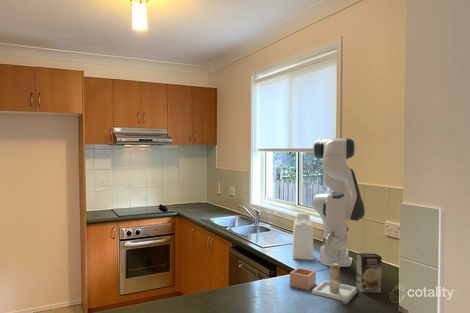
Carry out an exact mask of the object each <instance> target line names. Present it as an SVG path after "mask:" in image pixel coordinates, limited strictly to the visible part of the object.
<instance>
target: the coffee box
mask: <svg viewBox="0 0 470 313" xmlns="http://www.w3.org/2000/svg"><path fill="white" fill-rule="evenodd" d="M356 256H357V257H356V276H355V277H356V281H355V282H356V283H355V287H357V291H359V292H360V293H381V291H382V290H381V288H382V286H381V285H382V261H383V260H382V256H381V255H379V254H377V253H371V252H370V253H365V252H363V253H362V252H357V253H356Z"/></svg>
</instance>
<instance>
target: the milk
mask: <svg viewBox="0 0 470 313" xmlns="http://www.w3.org/2000/svg"><path fill="white" fill-rule="evenodd" d="M311 220H312V219H311V218H310V214H309V213H308V212H307V213H306V212H298V213H297V215H296V216H295V220H294V221H293V227H292V228H293V230H292V243H291V244H292V245H291V257H292V259H294V260H309V261H310V260H314V259H315V258H314V257H315V256H314V227H313V223H312V221H311Z"/></svg>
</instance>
